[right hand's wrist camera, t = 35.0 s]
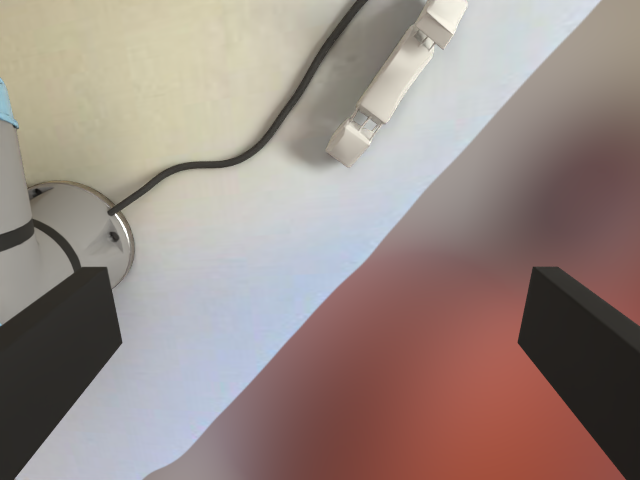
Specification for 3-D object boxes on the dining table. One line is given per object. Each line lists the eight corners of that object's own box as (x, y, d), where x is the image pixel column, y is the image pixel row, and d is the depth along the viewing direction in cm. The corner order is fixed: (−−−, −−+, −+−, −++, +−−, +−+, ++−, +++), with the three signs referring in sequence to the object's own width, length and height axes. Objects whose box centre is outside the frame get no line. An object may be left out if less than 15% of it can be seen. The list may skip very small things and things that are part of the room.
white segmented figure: (438, -20, 40) (455, -34, 34) (466, 5, 41) (487, -5, 35) (324, 143, 48) (321, 156, 41) (349, 161, 48) (350, 177, 42)
